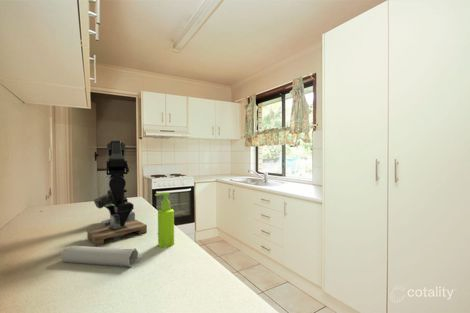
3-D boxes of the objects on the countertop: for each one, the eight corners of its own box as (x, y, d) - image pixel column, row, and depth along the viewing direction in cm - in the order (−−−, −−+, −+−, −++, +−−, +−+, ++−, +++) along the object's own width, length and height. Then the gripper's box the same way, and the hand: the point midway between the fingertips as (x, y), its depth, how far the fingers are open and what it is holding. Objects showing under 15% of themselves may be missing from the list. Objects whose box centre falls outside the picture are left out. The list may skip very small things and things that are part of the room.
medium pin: (122, 225, 112) (122, 212, 112) (131, 222, 115) (131, 211, 115) (125, 227, 109) (125, 214, 109) (135, 224, 112) (134, 212, 112)
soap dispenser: (154, 243, 89) (154, 192, 89) (173, 240, 92) (172, 190, 91) (156, 249, 84) (155, 194, 83) (175, 245, 86) (174, 193, 86)
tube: (54, 253, 72) (126, 257, 68) (68, 241, 77) (136, 245, 73) (60, 266, 74) (130, 271, 70) (73, 254, 79) (139, 258, 75)
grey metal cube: (101, 229, 105) (101, 221, 105) (112, 227, 109) (111, 219, 109) (104, 232, 102) (104, 223, 102) (115, 229, 106) (115, 220, 105)
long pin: (110, 236, 97) (110, 215, 97) (121, 233, 100) (121, 212, 100) (114, 238, 94) (113, 217, 94) (125, 235, 97) (124, 214, 97)
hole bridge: (87, 239, 94) (87, 230, 94) (136, 227, 108) (136, 219, 108) (95, 246, 86) (95, 237, 86) (146, 232, 101) (146, 224, 101)
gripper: (89, 187, 97) (89, 223, 98) (103, 192, 85) (104, 234, 85) (117, 184, 105) (117, 218, 106) (133, 189, 93) (134, 227, 93)
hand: (117, 224), depth 97 cm, fingers open, 9 cm apart
